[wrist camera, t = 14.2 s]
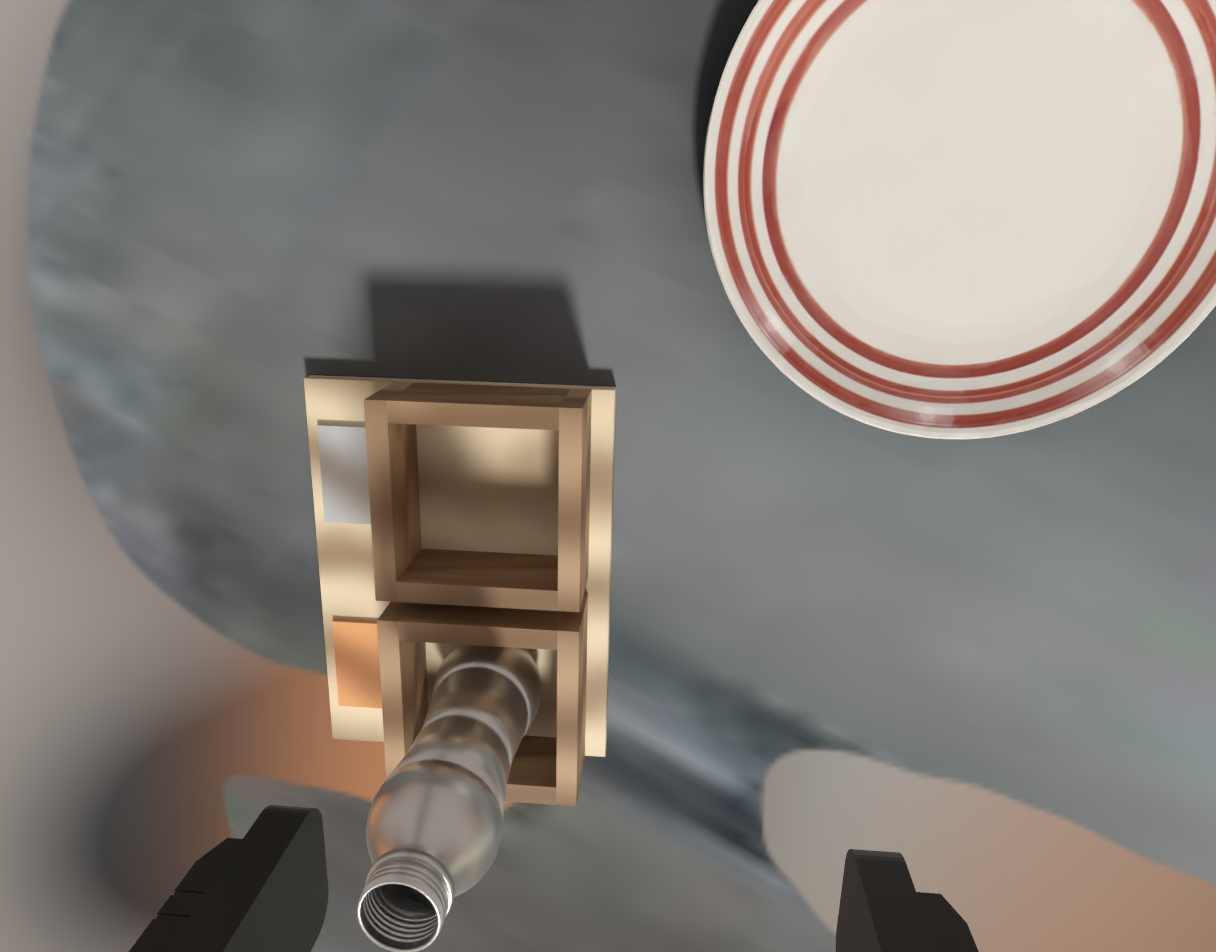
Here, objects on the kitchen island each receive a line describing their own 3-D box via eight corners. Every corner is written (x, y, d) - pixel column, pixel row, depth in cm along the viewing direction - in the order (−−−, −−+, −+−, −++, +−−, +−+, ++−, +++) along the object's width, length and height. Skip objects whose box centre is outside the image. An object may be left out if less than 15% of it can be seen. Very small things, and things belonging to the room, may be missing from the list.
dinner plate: (1062, 500, 50) (1088, 520, 47) (623, 315, 49) (619, 322, 45) (1366, 6, 42) (1423, -12, 38) (847, -231, 40) (862, -269, 37)
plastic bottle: (545, 622, 53) (470, 851, 34) (549, 718, 55) (481, 985, 36) (442, 620, 54) (312, 845, 35) (450, 716, 56) (331, 978, 37)
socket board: (310, 375, 51) (264, 395, 45) (616, 386, 50) (607, 409, 44) (338, 729, 58) (301, 786, 52) (606, 747, 57) (598, 807, 51)
